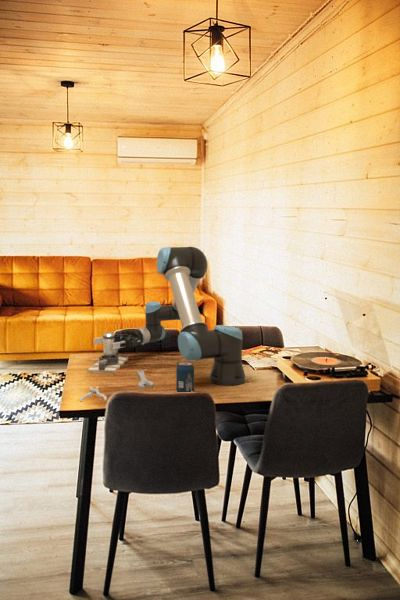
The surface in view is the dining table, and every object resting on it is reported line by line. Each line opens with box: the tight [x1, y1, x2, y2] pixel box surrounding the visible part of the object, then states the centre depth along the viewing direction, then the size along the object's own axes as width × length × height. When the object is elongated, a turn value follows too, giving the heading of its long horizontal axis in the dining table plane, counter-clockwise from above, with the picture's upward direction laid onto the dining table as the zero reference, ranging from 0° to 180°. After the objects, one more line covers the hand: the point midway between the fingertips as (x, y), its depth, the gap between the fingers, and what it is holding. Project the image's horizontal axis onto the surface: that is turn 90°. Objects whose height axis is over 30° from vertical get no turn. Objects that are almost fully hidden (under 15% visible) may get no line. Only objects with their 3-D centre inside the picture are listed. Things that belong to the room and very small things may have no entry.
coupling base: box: [86, 348, 130, 375], centre depth 265 cm, size 26×12×5 cm, turn 173°
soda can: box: [175, 361, 195, 393], centre depth 225 cm, size 7×7×12 cm
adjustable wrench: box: [136, 369, 155, 390], centre depth 243 cm, size 25×6×2 cm, turn 8°
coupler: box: [102, 331, 116, 359], centre depth 264 cm, size 5×5×14 cm
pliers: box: [79, 385, 108, 403], centre depth 222 cm, size 10×2×15 cm
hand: (103, 343), depth 262 cm, fingers open, 13 cm apart
